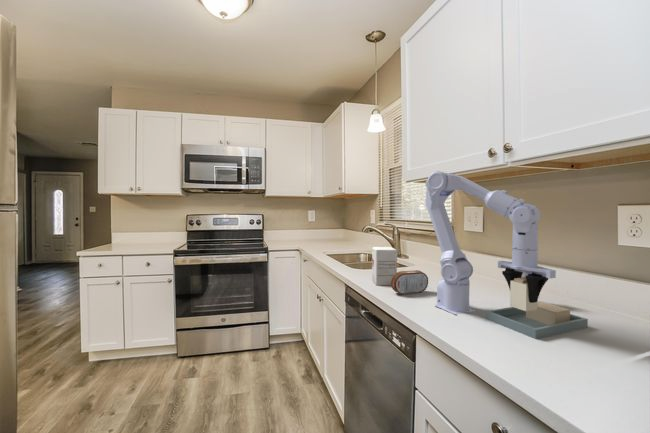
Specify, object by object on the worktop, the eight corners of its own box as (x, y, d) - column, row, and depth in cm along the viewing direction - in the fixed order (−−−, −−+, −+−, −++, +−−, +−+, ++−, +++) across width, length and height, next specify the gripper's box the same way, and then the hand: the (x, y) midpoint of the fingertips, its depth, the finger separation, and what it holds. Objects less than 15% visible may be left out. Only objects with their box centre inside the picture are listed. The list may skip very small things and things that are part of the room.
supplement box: (371, 280, 133) (371, 246, 133) (391, 280, 134) (391, 246, 133) (375, 285, 124) (375, 249, 124) (397, 285, 125) (397, 249, 124)
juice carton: (510, 306, 82) (510, 277, 82) (521, 304, 83) (522, 276, 83) (525, 311, 78) (526, 281, 78) (537, 309, 79) (538, 279, 79)
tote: (485, 320, 86) (486, 311, 85) (534, 312, 92) (534, 303, 92) (535, 341, 72) (535, 329, 72) (587, 329, 79) (587, 319, 79)
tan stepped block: (525, 316, 87) (525, 303, 87) (539, 314, 89) (540, 301, 89) (555, 327, 79) (555, 312, 79) (569, 324, 81) (570, 309, 81)
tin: (424, 290, 117) (424, 269, 117) (429, 292, 114) (429, 270, 114) (390, 293, 113) (390, 271, 112) (394, 296, 110) (395, 273, 109)
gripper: (490, 246, 86) (489, 293, 86) (542, 253, 72) (541, 309, 72) (508, 245, 88) (507, 291, 88) (561, 252, 75) (560, 306, 75)
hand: (523, 299), depth 81 cm, fingers closed on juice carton, 4 cm apart
